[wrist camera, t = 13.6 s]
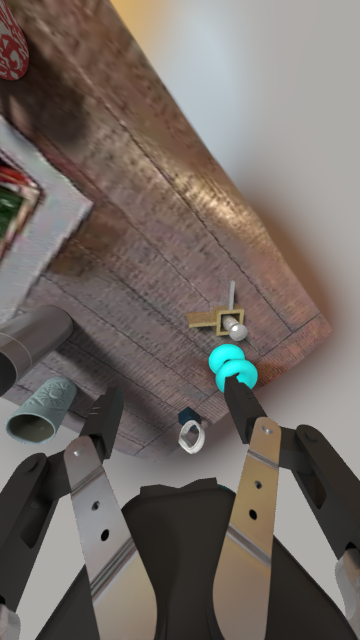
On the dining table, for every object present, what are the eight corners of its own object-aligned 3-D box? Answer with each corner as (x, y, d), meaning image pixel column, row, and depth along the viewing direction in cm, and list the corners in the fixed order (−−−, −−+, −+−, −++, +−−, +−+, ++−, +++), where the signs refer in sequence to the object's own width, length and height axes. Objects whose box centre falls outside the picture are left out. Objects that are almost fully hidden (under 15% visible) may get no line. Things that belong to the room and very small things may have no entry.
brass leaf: (186, 325, 44) (189, 337, 38) (185, 303, 42) (188, 312, 35) (230, 321, 45) (241, 333, 38) (232, 300, 43) (244, 308, 36)
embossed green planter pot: (71, 371, 47) (42, 409, 35) (85, 399, 50) (63, 440, 39) (35, 378, 46) (-6, 418, 35) (51, 405, 50) (19, 449, 39)
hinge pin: (213, 318, 44) (229, 341, 33) (213, 306, 43) (230, 325, 32) (226, 318, 44) (246, 340, 33) (226, 305, 43) (248, 324, 32)
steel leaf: (208, 323, 44) (216, 335, 38) (209, 277, 40) (218, 281, 34) (230, 321, 45) (241, 333, 38) (234, 275, 40) (247, 280, 34)
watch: (174, 417, 56) (175, 454, 46) (192, 403, 54) (198, 438, 44) (185, 425, 58) (189, 462, 48) (203, 412, 56) (211, 447, 46)
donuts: (226, 360, 37) (266, 367, 39) (213, 339, 46) (247, 345, 48) (212, 395, 40) (250, 400, 42) (203, 368, 50) (234, 373, 51)
